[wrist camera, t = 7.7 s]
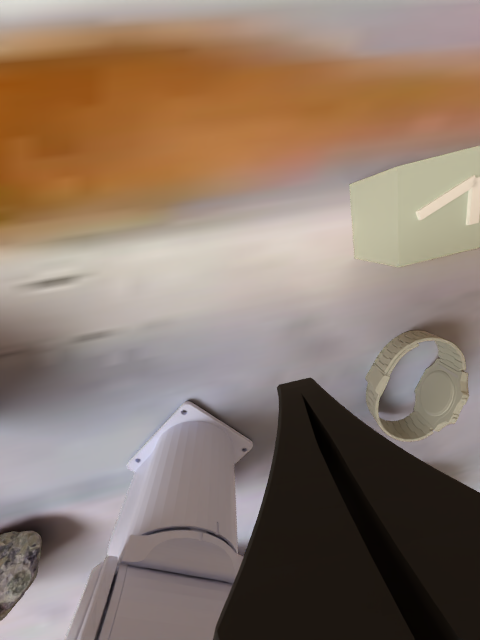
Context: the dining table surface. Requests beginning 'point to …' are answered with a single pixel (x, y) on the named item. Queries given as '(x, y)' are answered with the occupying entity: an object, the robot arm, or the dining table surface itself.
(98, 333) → the dining table surface
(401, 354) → the wristwatch
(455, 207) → the block marked 7
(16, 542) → the mineral rock
